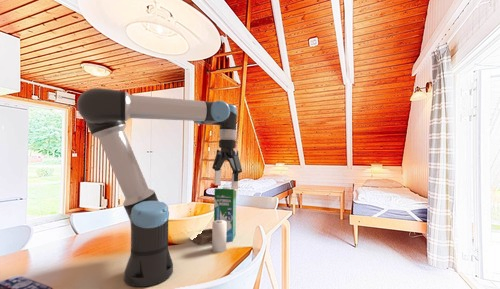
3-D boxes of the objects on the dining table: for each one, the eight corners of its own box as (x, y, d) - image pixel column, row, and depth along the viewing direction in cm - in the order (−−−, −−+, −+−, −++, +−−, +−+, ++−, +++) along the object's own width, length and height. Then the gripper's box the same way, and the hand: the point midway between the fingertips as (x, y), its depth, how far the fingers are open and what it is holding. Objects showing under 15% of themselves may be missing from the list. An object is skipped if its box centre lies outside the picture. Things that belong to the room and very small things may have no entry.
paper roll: (216, 254, 100) (216, 224, 100) (209, 249, 105) (209, 220, 105) (228, 250, 104) (229, 221, 104) (221, 246, 108) (221, 218, 108)
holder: (198, 245, 109) (198, 239, 109) (188, 238, 117) (188, 232, 117) (224, 238, 118) (224, 232, 118) (214, 232, 125) (214, 227, 126)
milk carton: (235, 235, 123) (236, 186, 123) (232, 242, 114) (233, 189, 114) (218, 234, 124) (218, 185, 124) (213, 241, 115) (214, 188, 115)
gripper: (251, 139, 102) (249, 190, 102) (219, 140, 122) (217, 182, 121) (237, 138, 97) (235, 191, 97) (206, 139, 117) (204, 183, 116)
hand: (225, 186), depth 109 cm, fingers open, 13 cm apart
